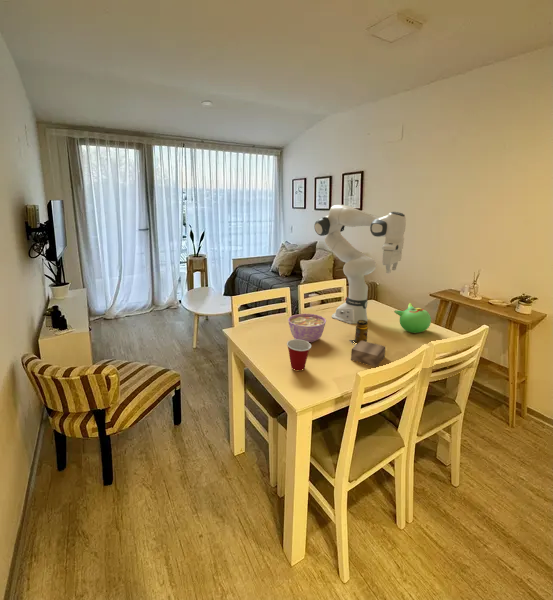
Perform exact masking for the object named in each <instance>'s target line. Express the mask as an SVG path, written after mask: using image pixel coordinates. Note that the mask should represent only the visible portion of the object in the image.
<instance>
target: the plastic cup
mask: <svg viewBox="0 0 553 600" xmlns="http://www.w3.org/2000/svg"><path fill="white" fill-rule="evenodd" d="M286 346H287V349H288V354H289V360H290V361H289V362H290V366H291V369H292V368H293V369H295V370H302V369H304V370H305V367H306V363H307V361H308V360H307V359H308V355H309V351H310V349H312V344H311V343H309V342H307V341H304V340H299V339H295V338H294V339H290V340H287V342H286ZM293 369H292V370H293Z"/></svg>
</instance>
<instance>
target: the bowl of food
mask: <svg viewBox="0 0 553 600" xmlns="http://www.w3.org/2000/svg"><path fill="white" fill-rule="evenodd" d="M287 321H288V325H289V328H290V329H289V330H290V333H291V335H292V337H293V338H294V339H299V340H304V341H307V342H311V343H314V342H316V341H318V340H319V339H321V337H322V335H323V332H324V330H325V327H326V322H327V320H326V318H325V317H323V316H322V315H318V314H314V313H299V314H294V315H291V316H290V317H288V318H287Z"/></svg>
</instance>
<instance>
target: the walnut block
mask: <svg viewBox="0 0 553 600" xmlns="http://www.w3.org/2000/svg"><path fill="white" fill-rule="evenodd" d="M385 355H386V345H381V344H377V343H373V342H369V341H367V342H365V341H360V342H359V343H358V344H357V345H356V346H353V347H352V348H351V354H350V361H352V360H354V361H353V362H356V361H358V362H357V363H359V362H361V363H360V364H363V363H364V364H363V365H366V364H367V366H371V367H373V368H377V367H378V366H379V364H380V363H381V362H382V361H383V360H384V359H385Z"/></svg>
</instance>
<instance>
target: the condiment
mask: <svg viewBox="0 0 553 600" xmlns="http://www.w3.org/2000/svg"><path fill="white" fill-rule="evenodd" d="M368 330H369V327H368V321H365V320H358V321H357V323H356V325H355V335H354V336H355V337H354V339H349V340H348V341H349V342H350V343H351V344H352V345H353V343H354V342H355V343H357V344H358V343H359V342H360V341H365V342H368V332H369V331H368ZM353 341H354V342H353ZM355 343H354V344H355ZM357 344H356V345H357ZM356 345H353V347H355V346H356Z"/></svg>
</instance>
